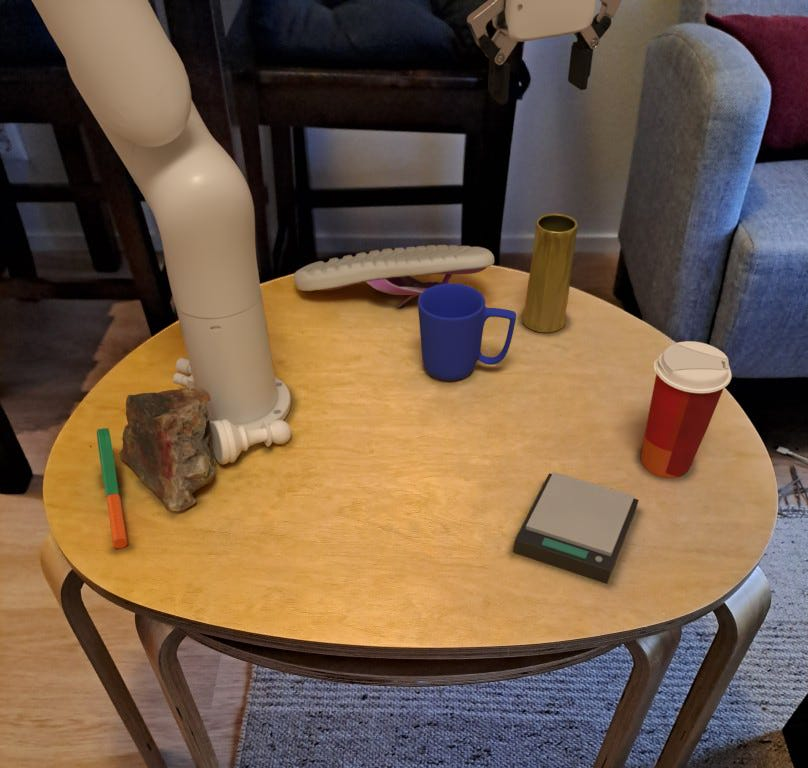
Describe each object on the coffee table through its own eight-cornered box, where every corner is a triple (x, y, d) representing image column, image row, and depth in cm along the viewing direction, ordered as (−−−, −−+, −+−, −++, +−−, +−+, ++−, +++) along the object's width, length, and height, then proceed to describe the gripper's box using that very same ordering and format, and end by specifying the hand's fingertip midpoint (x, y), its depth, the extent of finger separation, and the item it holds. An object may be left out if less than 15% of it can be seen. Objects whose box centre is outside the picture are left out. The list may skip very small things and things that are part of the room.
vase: (518, 330, 112) (529, 231, 101) (525, 306, 116) (536, 209, 105) (563, 336, 111) (578, 236, 100) (567, 312, 115) (583, 214, 104)
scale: (513, 552, 84) (515, 535, 82) (546, 486, 91) (549, 468, 89) (607, 584, 81) (611, 567, 79) (635, 512, 88) (639, 495, 86)
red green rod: (109, 452, 95) (94, 453, 94) (106, 416, 90) (90, 417, 89) (131, 558, 87) (114, 560, 87) (129, 525, 82) (112, 527, 82)
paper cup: (700, 446, 95) (735, 344, 85) (698, 490, 90) (734, 387, 80) (633, 434, 97) (658, 333, 86) (627, 477, 92) (653, 375, 81)
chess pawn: (225, 455, 90) (301, 441, 93) (212, 413, 90) (288, 401, 94) (218, 471, 94) (291, 457, 98) (206, 431, 95) (279, 419, 99)
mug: (506, 394, 102) (513, 325, 95) (412, 383, 104) (411, 315, 96) (513, 357, 108) (520, 289, 100) (423, 347, 109) (424, 279, 102)
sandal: (492, 232, 116) (497, 283, 120) (298, 258, 121) (308, 307, 124) (493, 250, 105) (497, 306, 109) (279, 278, 110) (290, 330, 113)
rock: (227, 395, 94) (151, 360, 87) (250, 471, 87) (170, 440, 80) (168, 464, 99) (92, 436, 92) (185, 541, 92) (104, 517, 85)
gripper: (614, -117, 82) (590, 70, 95) (456, -98, 78) (453, 94, 91) (655, -103, 77) (624, 92, 90) (489, -82, 73) (481, 118, 86)
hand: (538, 93), depth 90 cm, fingers open, 9 cm apart
